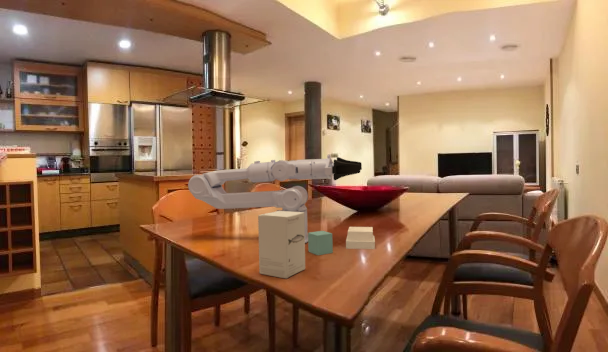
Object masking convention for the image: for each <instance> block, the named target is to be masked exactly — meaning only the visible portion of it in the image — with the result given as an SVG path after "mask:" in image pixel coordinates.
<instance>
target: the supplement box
mask: <svg viewBox="0 0 608 352" xmlns="http://www.w3.org/2000/svg"><path fill="white" fill-rule="evenodd" d="M257 219H258V221H257V222H258V223H257V227H258V229H257V230H258V261H259V262H258V267H259V272H258V273H259V274H261V275H264V276H271V277H275V278H276V277H277V278H281V279H286V280H287V279H288V278H290V277H292V276H293V275H296V274H298V273H300V272H302V271H304V270H306V243H305V225H304V224H305V223H304V212H291V211H277V210H276V211H272V212H265V213H262V214H258V215H257Z"/></svg>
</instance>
